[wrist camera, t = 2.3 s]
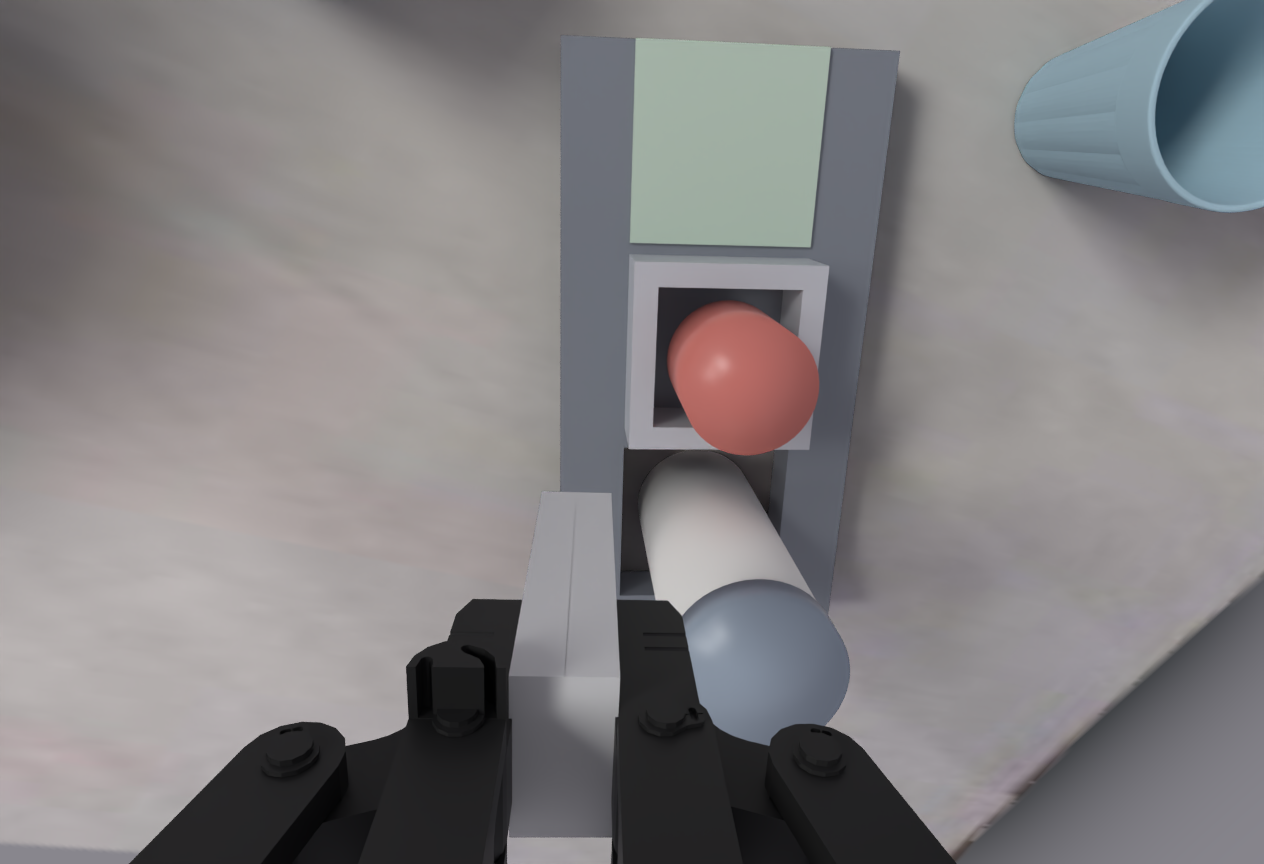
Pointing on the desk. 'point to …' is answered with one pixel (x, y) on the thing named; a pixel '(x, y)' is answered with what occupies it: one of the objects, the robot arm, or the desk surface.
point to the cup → (1157, 108)
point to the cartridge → (739, 600)
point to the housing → (716, 249)
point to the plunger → (742, 377)
